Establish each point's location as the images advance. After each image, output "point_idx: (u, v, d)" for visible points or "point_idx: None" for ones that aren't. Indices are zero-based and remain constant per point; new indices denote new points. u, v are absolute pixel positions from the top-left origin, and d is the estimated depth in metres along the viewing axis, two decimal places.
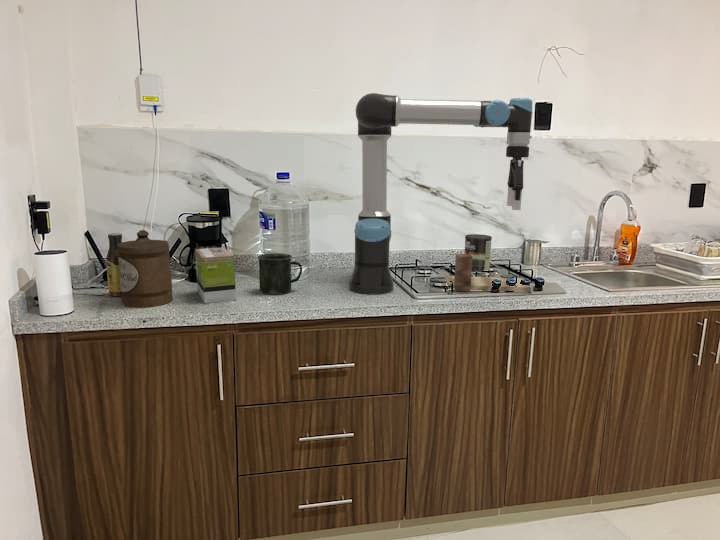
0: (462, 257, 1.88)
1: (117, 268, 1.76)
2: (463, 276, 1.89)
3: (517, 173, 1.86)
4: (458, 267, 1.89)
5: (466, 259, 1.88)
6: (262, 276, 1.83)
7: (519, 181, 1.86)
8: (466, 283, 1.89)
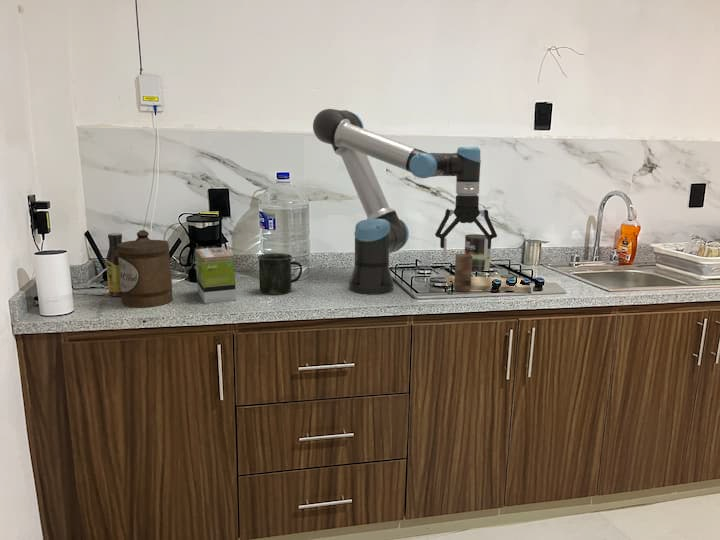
0: (462, 257, 1.88)
1: (117, 268, 1.76)
2: (463, 276, 1.89)
3: None
4: (458, 267, 1.89)
5: (466, 259, 1.88)
6: (262, 276, 1.83)
7: None
8: (466, 283, 1.89)
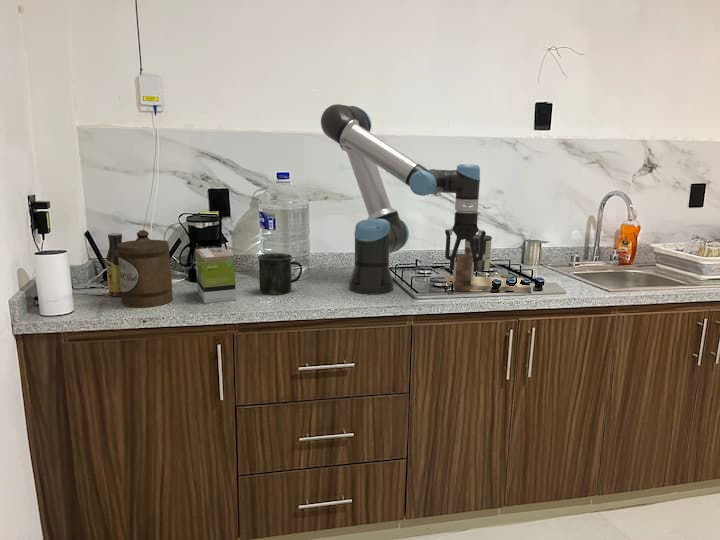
0: (462, 257, 1.88)
1: (117, 268, 1.76)
2: (463, 276, 1.89)
3: None
4: (458, 267, 1.89)
5: (466, 259, 1.88)
6: (262, 276, 1.83)
7: (445, 252, 1.90)
8: (466, 283, 1.89)
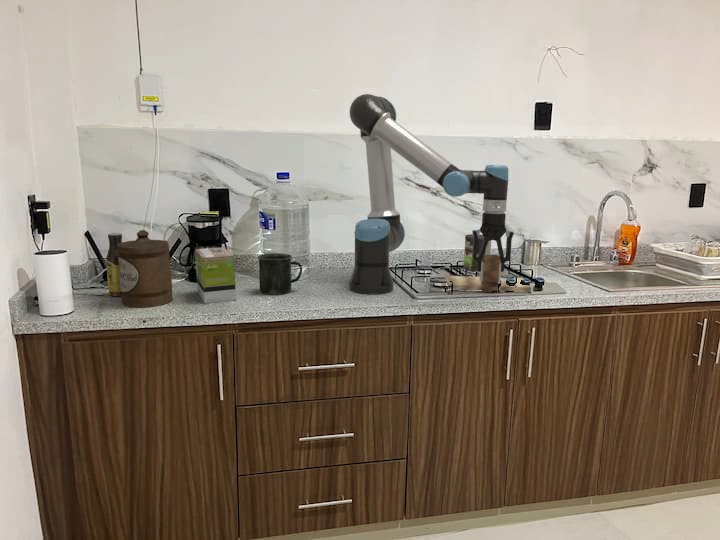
0: (490, 258, 1.87)
1: (117, 268, 1.76)
2: (490, 277, 1.88)
3: (473, 244, 1.90)
4: (485, 268, 1.88)
5: (494, 260, 1.87)
6: (262, 276, 1.83)
7: (472, 252, 1.90)
8: (494, 284, 1.89)
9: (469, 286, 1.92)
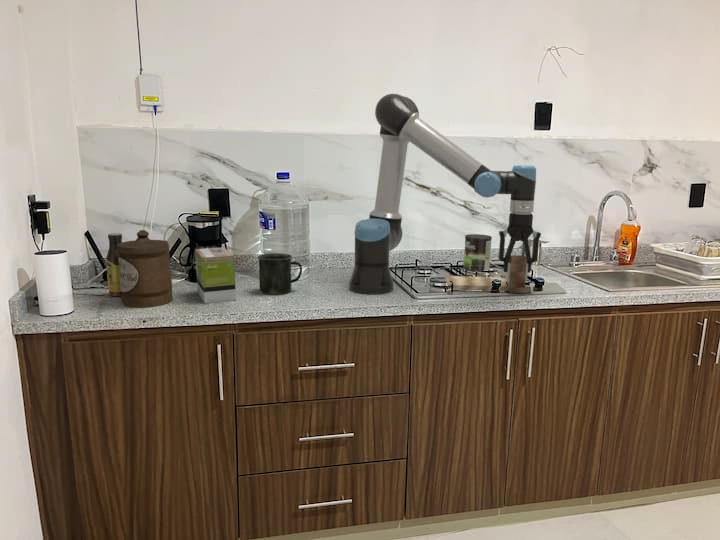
0: (517, 258, 1.87)
1: (117, 268, 1.76)
2: (517, 278, 1.88)
3: None
4: (512, 269, 1.87)
5: (521, 261, 1.87)
6: (262, 276, 1.83)
7: (499, 253, 1.89)
8: (520, 285, 1.88)
9: (469, 286, 1.92)
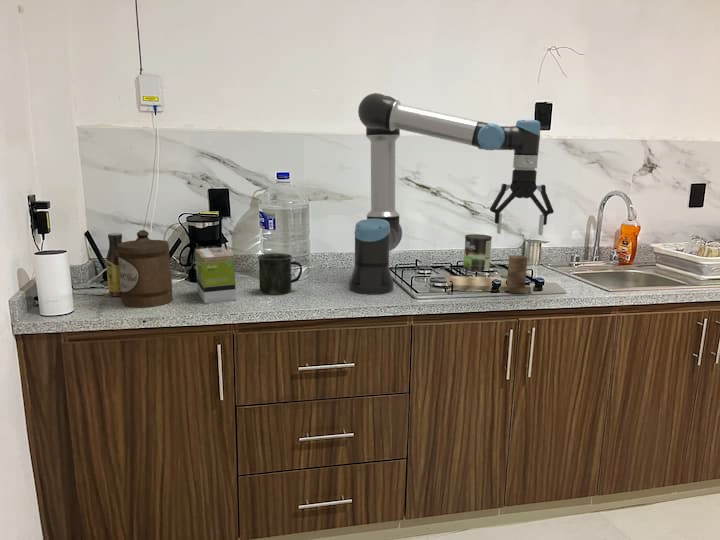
0: (517, 259, 1.87)
1: (117, 268, 1.76)
2: (517, 278, 1.88)
3: (497, 196, 1.86)
4: (513, 269, 1.87)
5: (521, 261, 1.87)
6: (262, 276, 1.83)
7: (493, 204, 1.86)
8: (521, 285, 1.88)
9: (469, 286, 1.92)
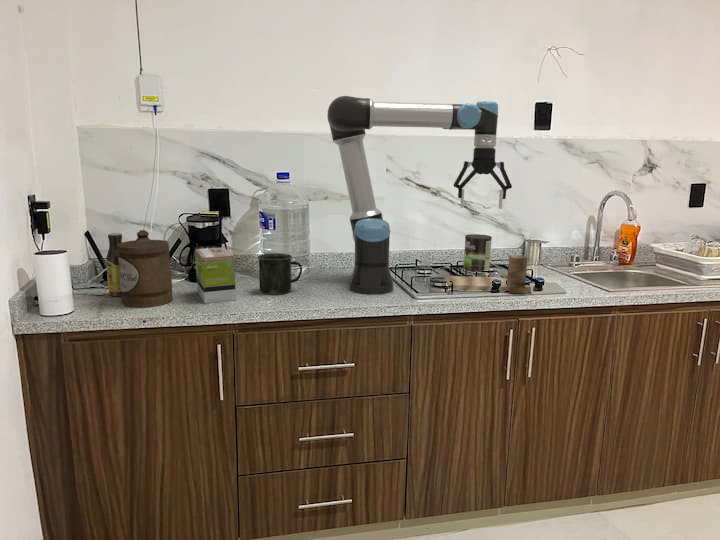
0: (517, 259, 1.87)
1: (117, 268, 1.76)
2: (517, 278, 1.88)
3: (460, 173, 2.01)
4: (513, 269, 1.87)
5: (521, 261, 1.87)
6: (262, 276, 1.83)
7: (456, 180, 2.01)
8: (521, 285, 1.88)
9: (469, 286, 1.92)
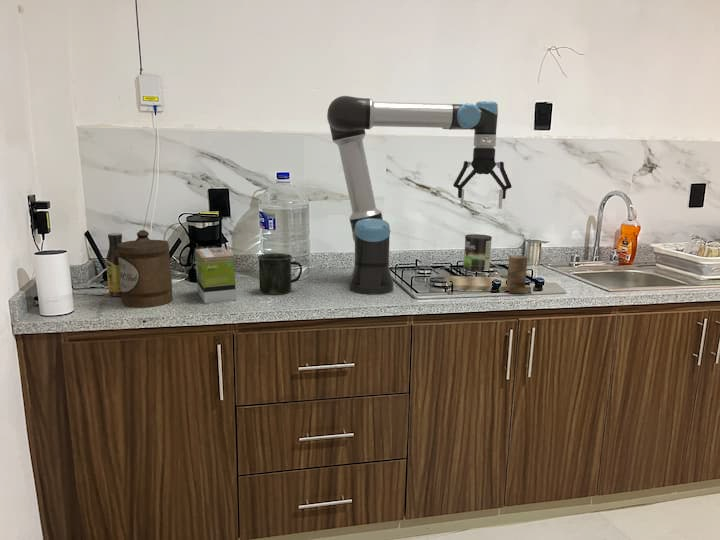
0: (517, 259, 1.87)
1: (117, 268, 1.76)
2: (517, 278, 1.88)
3: (459, 173, 2.01)
4: (513, 269, 1.87)
5: (521, 261, 1.87)
6: (262, 276, 1.83)
7: (456, 180, 2.01)
8: (521, 285, 1.88)
9: (469, 286, 1.92)
